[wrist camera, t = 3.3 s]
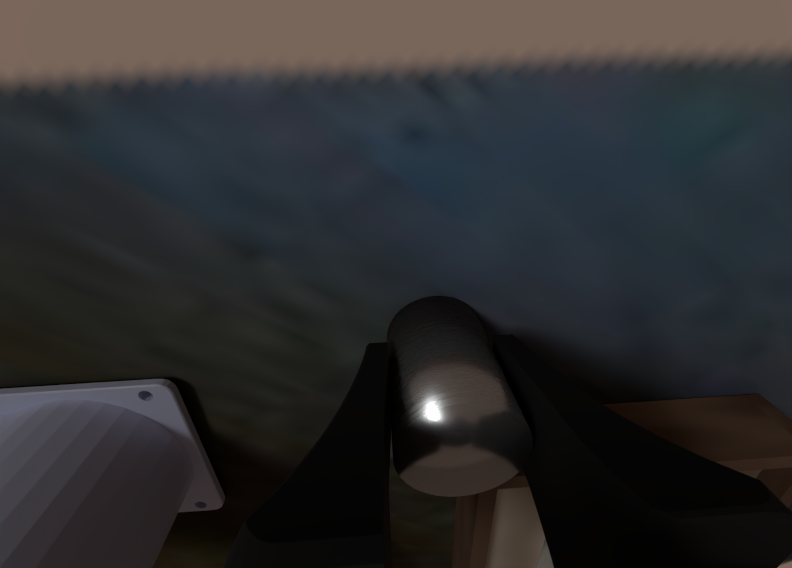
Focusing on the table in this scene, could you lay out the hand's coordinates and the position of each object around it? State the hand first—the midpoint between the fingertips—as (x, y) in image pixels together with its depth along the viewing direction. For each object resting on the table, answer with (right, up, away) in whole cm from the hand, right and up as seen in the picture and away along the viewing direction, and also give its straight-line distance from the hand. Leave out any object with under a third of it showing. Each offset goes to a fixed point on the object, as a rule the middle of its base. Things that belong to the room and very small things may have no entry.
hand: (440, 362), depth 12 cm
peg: (0, +1, +1) cm, 1 cm away
